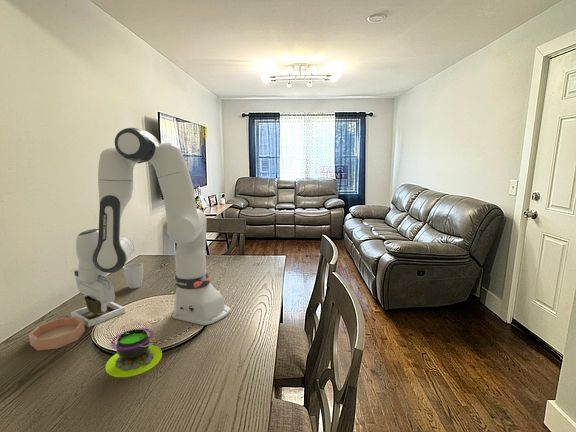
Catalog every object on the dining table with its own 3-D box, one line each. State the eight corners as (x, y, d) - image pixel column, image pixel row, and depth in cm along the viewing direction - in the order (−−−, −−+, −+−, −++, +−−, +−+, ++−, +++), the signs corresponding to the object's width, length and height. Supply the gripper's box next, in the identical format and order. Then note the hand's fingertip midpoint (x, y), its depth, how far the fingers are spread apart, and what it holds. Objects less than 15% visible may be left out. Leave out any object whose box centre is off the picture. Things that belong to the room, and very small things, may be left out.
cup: (148, 283, 148) (146, 263, 147) (138, 290, 140) (136, 269, 139) (131, 282, 149) (130, 262, 147) (121, 289, 141) (119, 268, 139)
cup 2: (84, 320, 114) (81, 300, 112) (90, 311, 121) (88, 292, 119) (106, 318, 116) (104, 297, 114) (112, 309, 123) (110, 289, 121)
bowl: (91, 334, 105) (89, 324, 105) (42, 354, 94) (41, 344, 93) (72, 322, 113) (70, 313, 112) (25, 340, 101) (23, 330, 101)
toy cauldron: (170, 360, 92) (168, 325, 90) (114, 386, 81) (110, 347, 79) (150, 339, 102) (148, 308, 100) (98, 360, 92) (94, 325, 90)
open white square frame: (124, 312, 120) (124, 307, 120) (88, 327, 109) (88, 322, 109) (107, 303, 127) (106, 299, 127) (71, 317, 116) (70, 312, 116)
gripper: (117, 275, 112) (121, 311, 115) (89, 265, 123) (93, 298, 126) (99, 281, 107) (103, 319, 110) (71, 270, 118) (75, 304, 121)
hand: (97, 308), depth 118 cm, fingers closed on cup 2, 7 cm apart
